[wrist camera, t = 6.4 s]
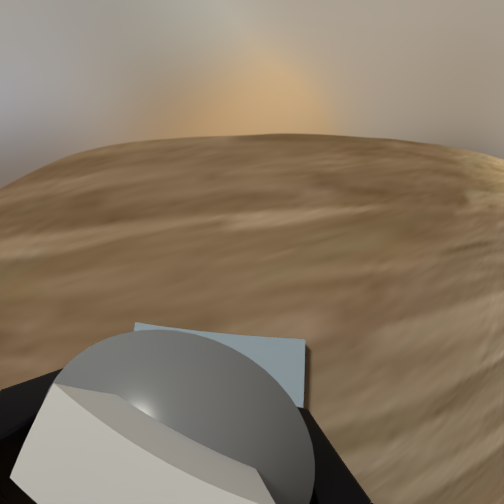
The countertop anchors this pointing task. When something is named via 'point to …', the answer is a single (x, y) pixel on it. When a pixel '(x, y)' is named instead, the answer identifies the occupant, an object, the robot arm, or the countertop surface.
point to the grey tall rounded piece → (166, 428)
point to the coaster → (263, 356)
